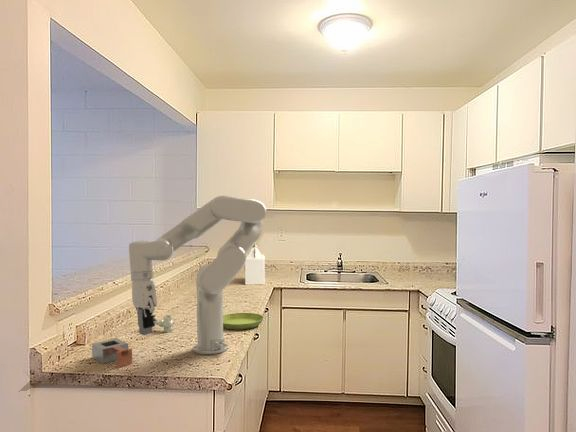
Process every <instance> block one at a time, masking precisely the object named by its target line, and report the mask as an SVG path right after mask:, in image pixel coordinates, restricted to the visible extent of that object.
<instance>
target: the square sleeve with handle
mask: <svg viewBox="0 0 576 432" xmlns="http://www.w3.org/2000/svg"><path fill="white" fill-rule="evenodd" d="M92 357H93V358H94V359H93V358H92ZM91 358H92V359H93V360H95V359H96V360H95V361H97V360H98V361H97V362H98V363H100V362H101V363H100V364H102V363H105V364H109V363H112V361H113V362H116V368H122V367H125V366H129V365H133V349H132V348H129V343H128V342H126V341H124V340H122V339H119V338H117V337H116V338H112V339H108V340H103V341H99V342H93V343H91ZM108 362H109V363H108Z"/></svg>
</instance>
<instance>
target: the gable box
mask: <svg viewBox="0 0 576 432" xmlns="http://www.w3.org/2000/svg"><path fill="white" fill-rule="evenodd" d="M244 266H245V267H244V272H245V273H244V277H245V278H244V283H245V284H265V285H266V256H265V254H264V253H263V251H262V249H261V248H260V246H259V245H257V242H256V243H255V244H254V245H253V247H252V248H251V249H250V250H249V251H248V253H247V254H246V262H245V264H244Z"/></svg>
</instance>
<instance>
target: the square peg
mask: <svg viewBox="0 0 576 432" xmlns="http://www.w3.org/2000/svg"><path fill="white" fill-rule="evenodd" d="M148 310H149V309H148ZM146 312H147V310H146ZM143 317H144V312H143V308H139V309H138V315H137V322H138V321H139V326H138V328H139V329H138V330H139V335H142V336H146V335H148V334H153V327H149V328H144V324H143Z"/></svg>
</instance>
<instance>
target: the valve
mask: <svg viewBox="0 0 576 432" xmlns="http://www.w3.org/2000/svg"><path fill="white" fill-rule="evenodd" d="M152 322H153V326H152V328H153V327H155V326H159V327H161V328H163V333H172V332H173V327H174V326H173V325H174V322H173V315H170V314H169V315H163V319H160V320H157V319H156V316H155V315H154V314H153V315H152Z"/></svg>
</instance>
